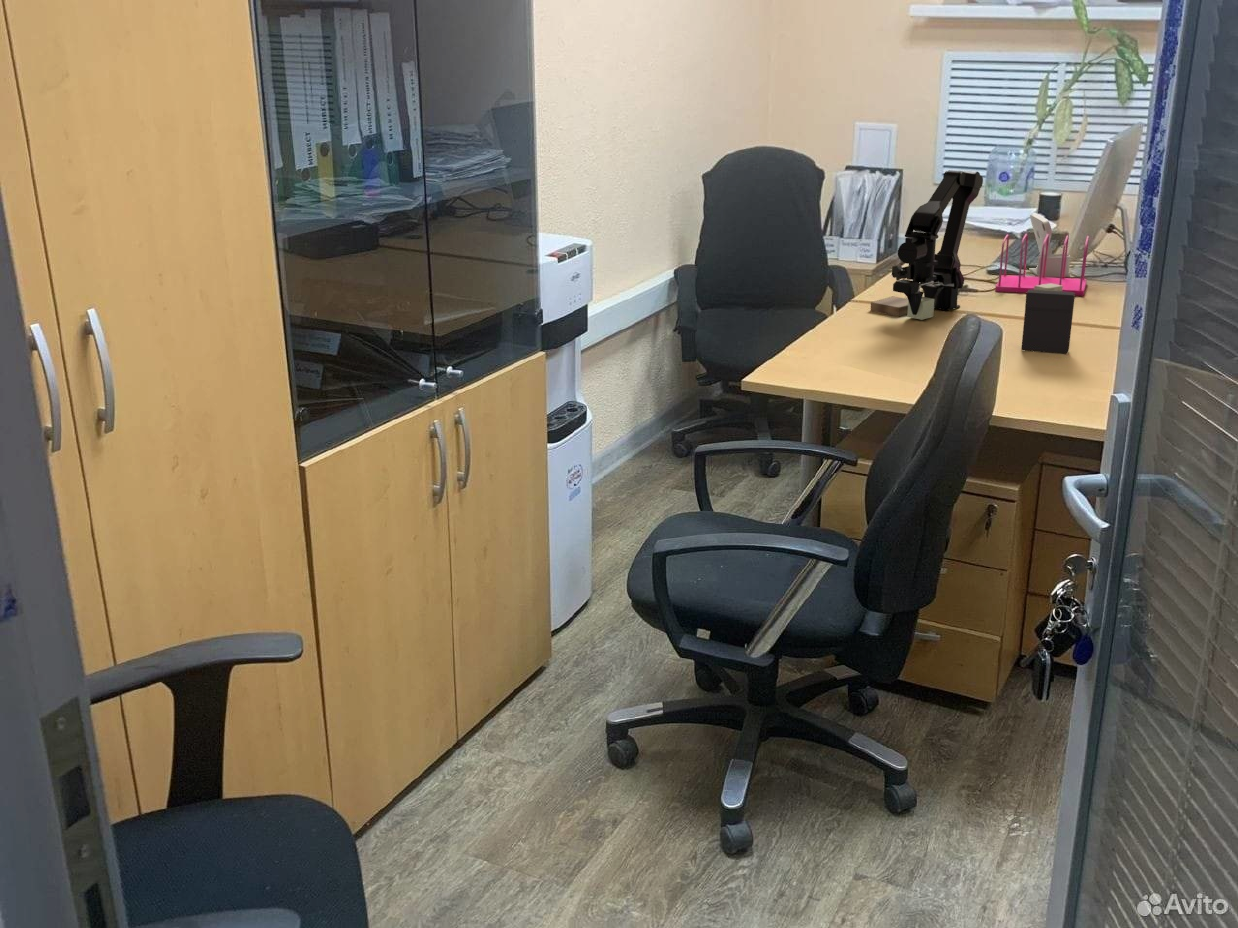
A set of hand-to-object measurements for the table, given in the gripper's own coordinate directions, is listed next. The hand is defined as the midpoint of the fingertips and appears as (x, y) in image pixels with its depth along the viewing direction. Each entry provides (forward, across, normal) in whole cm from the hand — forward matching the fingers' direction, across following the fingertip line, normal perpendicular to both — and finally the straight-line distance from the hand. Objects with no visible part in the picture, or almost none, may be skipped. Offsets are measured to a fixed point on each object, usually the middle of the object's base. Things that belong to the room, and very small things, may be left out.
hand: (920, 313), depth 320 cm
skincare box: (+2, -12, +31) cm, 33 cm away
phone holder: (+2, -77, -9) cm, 78 cm away
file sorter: (+2, -55, +2) cm, 55 cm away
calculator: (+2, +5, +42) cm, 42 cm away
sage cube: (+1, 0, 0) cm, 1 cm away
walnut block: (+2, -3, -11) cm, 12 cm away
